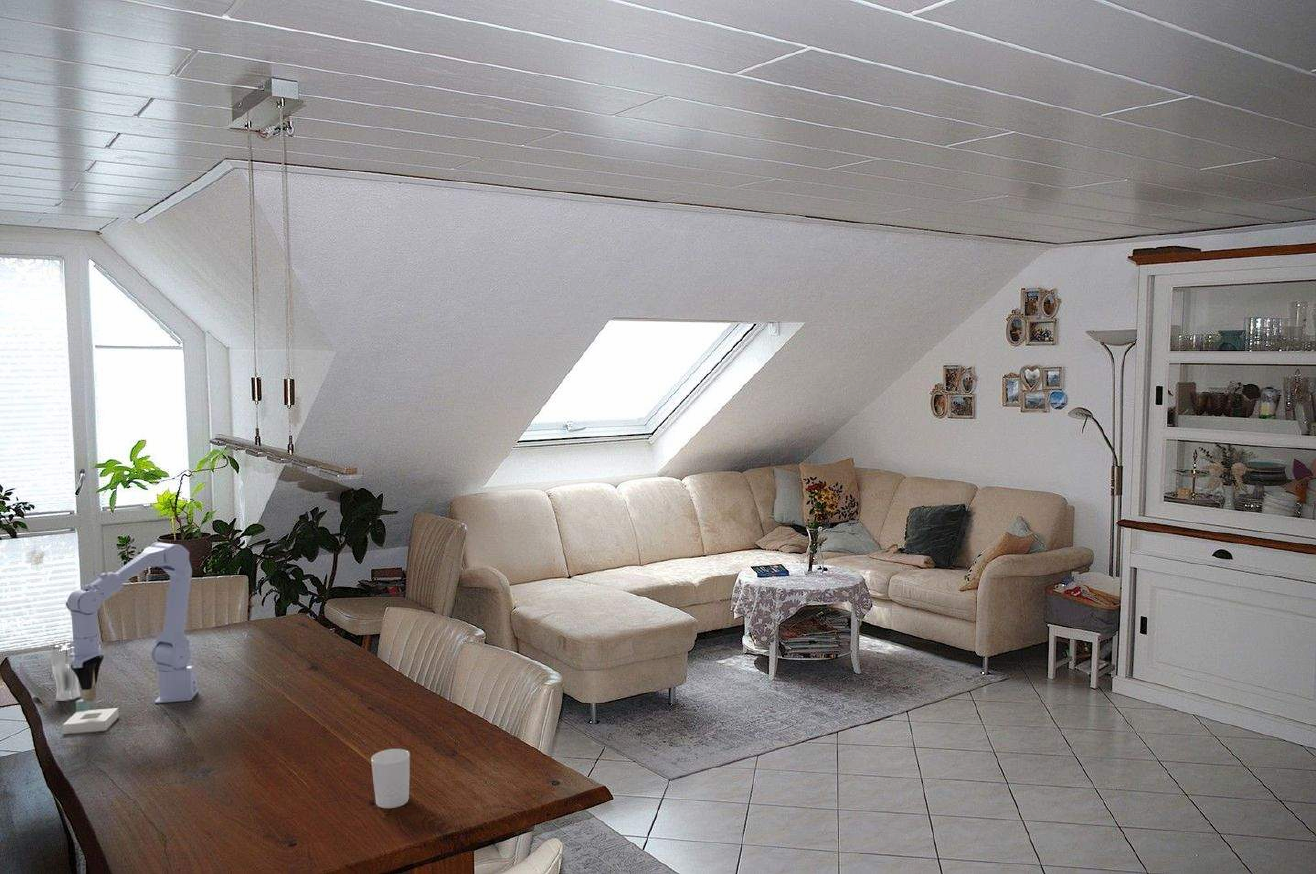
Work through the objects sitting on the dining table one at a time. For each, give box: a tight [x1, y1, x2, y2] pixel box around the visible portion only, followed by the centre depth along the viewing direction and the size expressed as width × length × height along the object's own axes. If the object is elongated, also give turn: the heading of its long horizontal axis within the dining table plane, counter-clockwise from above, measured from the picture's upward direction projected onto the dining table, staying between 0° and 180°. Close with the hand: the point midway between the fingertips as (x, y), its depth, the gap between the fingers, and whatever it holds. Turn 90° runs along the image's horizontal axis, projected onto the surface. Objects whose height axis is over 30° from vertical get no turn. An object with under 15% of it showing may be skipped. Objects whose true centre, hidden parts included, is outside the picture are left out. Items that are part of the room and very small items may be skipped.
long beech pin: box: [81, 672, 97, 703], centre depth 260 cm, size 3×3×8 cm
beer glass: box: [50, 642, 82, 702], centre depth 282 cm, size 7×7×15 cm
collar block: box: [62, 707, 120, 735], centre depth 260 cm, size 10×10×2 cm
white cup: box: [370, 748, 411, 809], centre depth 211 cm, size 8×8×10 cm
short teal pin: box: [75, 698, 91, 712], centre depth 267 cm, size 3×3×4 cm
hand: (89, 687), depth 260 cm, fingers closed on long beech pin, 3 cm apart
